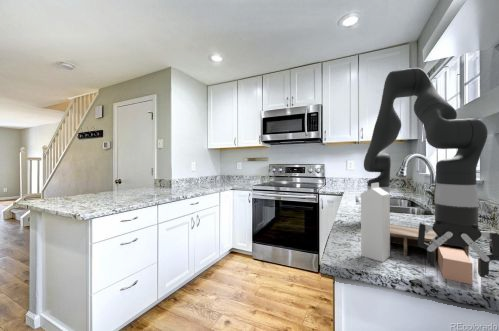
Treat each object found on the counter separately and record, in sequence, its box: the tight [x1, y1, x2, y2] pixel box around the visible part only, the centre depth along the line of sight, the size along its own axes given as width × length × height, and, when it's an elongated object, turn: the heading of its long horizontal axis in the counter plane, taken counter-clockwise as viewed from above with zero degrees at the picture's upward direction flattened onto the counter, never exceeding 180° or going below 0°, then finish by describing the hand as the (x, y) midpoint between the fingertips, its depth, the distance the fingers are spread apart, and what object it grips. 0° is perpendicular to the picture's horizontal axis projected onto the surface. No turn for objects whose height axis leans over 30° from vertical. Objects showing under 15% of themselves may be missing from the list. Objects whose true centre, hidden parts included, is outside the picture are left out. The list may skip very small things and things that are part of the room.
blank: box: [437, 246, 473, 286], centre depth 55 cm, size 10×5×5 cm, turn 145°
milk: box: [360, 183, 391, 263], centre depth 65 cm, size 6×6×22 cm
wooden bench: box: [390, 223, 470, 262], centre depth 68 cm, size 12×21×6 cm, turn 54°
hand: (455, 270), depth 52 cm, fingers open, 8 cm apart
